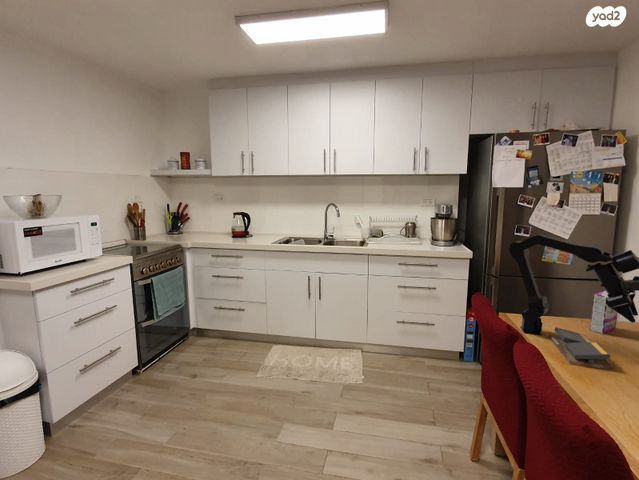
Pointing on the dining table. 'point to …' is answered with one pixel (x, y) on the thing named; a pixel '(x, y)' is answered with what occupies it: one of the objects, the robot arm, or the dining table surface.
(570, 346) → the rocker outer
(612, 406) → the dining table surface
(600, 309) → the candy bar box
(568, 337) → the block
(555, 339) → the switch unit
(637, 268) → the robot arm
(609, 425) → the dining table surface
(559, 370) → the dining table surface
